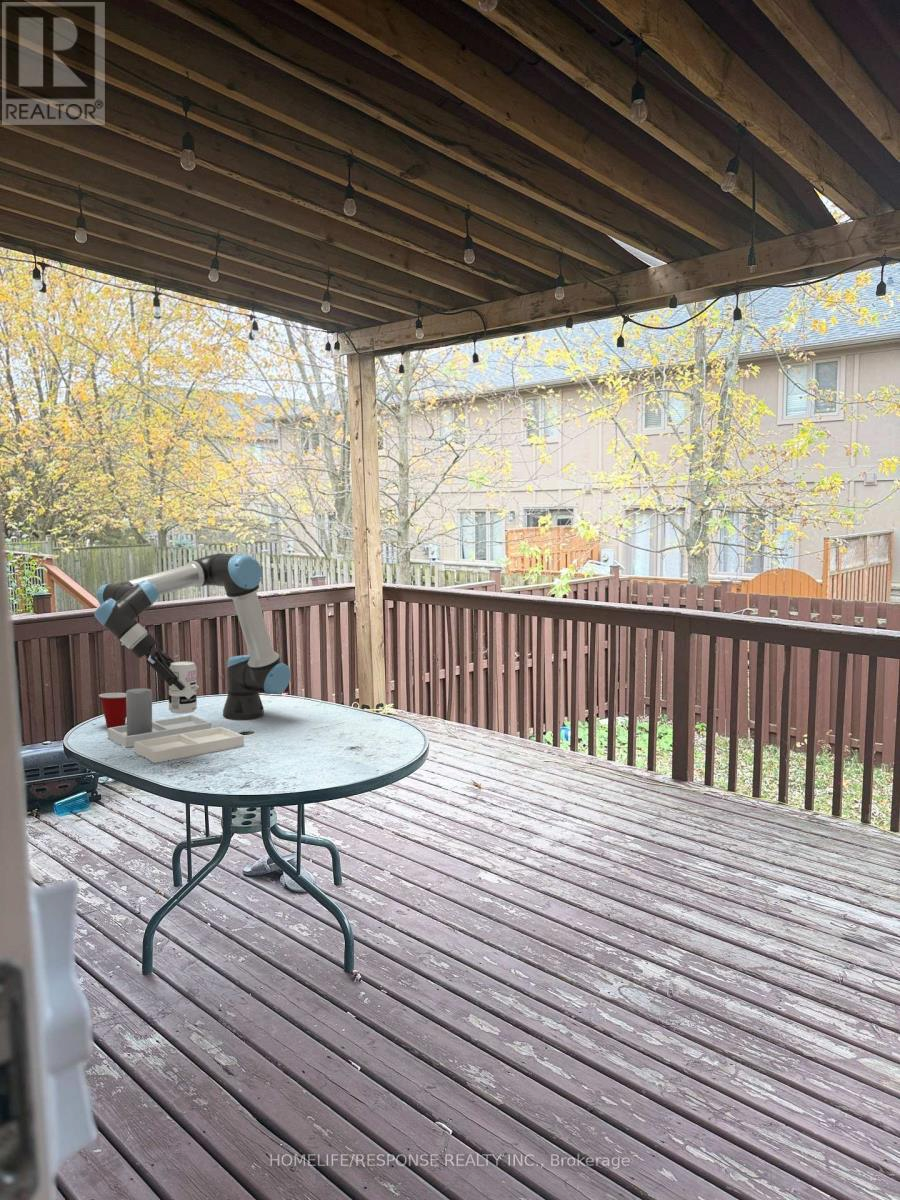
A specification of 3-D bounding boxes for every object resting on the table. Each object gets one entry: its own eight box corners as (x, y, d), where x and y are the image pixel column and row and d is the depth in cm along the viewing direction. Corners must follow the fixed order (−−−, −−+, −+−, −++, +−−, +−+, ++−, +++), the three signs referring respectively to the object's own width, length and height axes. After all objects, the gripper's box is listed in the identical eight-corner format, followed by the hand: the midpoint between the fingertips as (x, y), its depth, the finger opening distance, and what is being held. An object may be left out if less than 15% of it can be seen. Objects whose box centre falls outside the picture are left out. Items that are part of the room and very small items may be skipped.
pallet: (221, 736, 273) (221, 726, 273) (243, 745, 262) (243, 735, 262) (134, 752, 252) (134, 741, 252) (154, 763, 241) (154, 752, 241)
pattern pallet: (192, 724, 289) (191, 679, 287) (211, 732, 278) (211, 685, 276) (107, 738, 268) (106, 690, 267) (125, 747, 257) (124, 697, 256)
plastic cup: (138, 723, 288) (137, 691, 287) (123, 731, 277) (122, 697, 276) (109, 722, 289) (108, 689, 288) (93, 729, 278) (92, 696, 277)
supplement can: (172, 707, 251) (172, 660, 250) (199, 708, 252) (199, 661, 250) (165, 714, 243) (165, 665, 242) (193, 714, 244) (193, 665, 242)
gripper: (138, 644, 253) (190, 694, 258) (121, 655, 233) (179, 709, 237) (155, 628, 254) (207, 678, 258) (140, 638, 233) (197, 691, 237)
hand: (194, 692), depth 247 cm, fingers closed on supplement can, 8 cm apart
